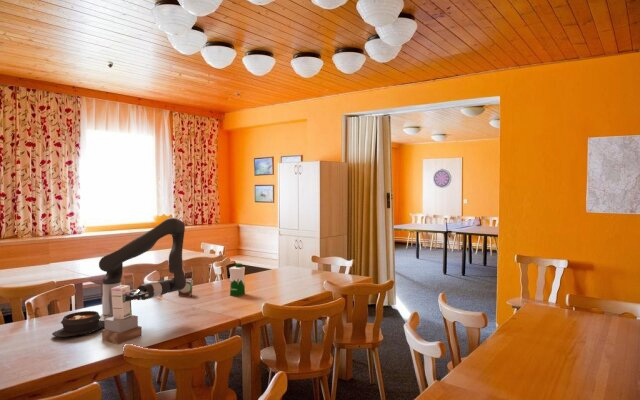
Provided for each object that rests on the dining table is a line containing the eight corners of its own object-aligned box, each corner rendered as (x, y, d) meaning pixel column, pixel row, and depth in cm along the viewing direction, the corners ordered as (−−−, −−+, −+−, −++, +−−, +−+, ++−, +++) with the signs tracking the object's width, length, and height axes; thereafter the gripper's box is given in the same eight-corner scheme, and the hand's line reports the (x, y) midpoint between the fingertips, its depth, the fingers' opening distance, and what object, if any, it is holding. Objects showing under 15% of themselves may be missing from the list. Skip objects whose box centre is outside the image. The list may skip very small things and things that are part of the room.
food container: (197, 294, 278) (197, 279, 277) (191, 296, 272) (191, 281, 272) (183, 293, 283) (183, 278, 282) (176, 295, 277) (176, 280, 277)
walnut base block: (102, 340, 194) (101, 330, 194) (125, 333, 204) (125, 322, 204) (118, 345, 188) (118, 334, 188) (141, 337, 198) (141, 326, 198)
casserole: (66, 343, 190) (66, 325, 190) (43, 337, 199) (43, 319, 199) (116, 327, 212) (116, 311, 211) (94, 322, 221) (93, 306, 220)
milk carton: (246, 293, 279) (246, 263, 279) (239, 296, 271) (238, 265, 270) (235, 292, 283) (235, 262, 282) (227, 295, 274) (227, 265, 274)
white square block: (104, 330, 194) (104, 319, 194) (123, 323, 203) (123, 313, 202) (119, 333, 189) (119, 322, 189) (137, 326, 198) (137, 316, 198)
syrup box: (123, 319, 192) (121, 288, 192) (112, 318, 194) (111, 287, 193) (132, 315, 198) (130, 285, 197) (121, 315, 199) (120, 284, 199)
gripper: (140, 281, 212) (110, 288, 198) (159, 284, 205) (129, 291, 191) (140, 296, 212) (110, 304, 198) (159, 299, 205) (130, 308, 191)
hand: (120, 297), depth 194 cm, fingers open, 8 cm apart
